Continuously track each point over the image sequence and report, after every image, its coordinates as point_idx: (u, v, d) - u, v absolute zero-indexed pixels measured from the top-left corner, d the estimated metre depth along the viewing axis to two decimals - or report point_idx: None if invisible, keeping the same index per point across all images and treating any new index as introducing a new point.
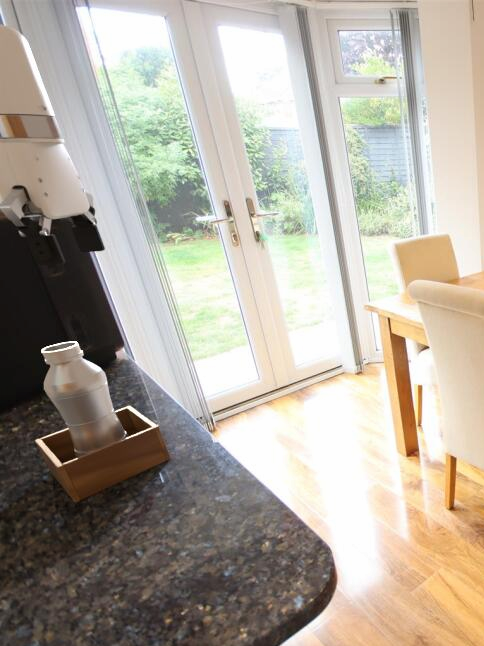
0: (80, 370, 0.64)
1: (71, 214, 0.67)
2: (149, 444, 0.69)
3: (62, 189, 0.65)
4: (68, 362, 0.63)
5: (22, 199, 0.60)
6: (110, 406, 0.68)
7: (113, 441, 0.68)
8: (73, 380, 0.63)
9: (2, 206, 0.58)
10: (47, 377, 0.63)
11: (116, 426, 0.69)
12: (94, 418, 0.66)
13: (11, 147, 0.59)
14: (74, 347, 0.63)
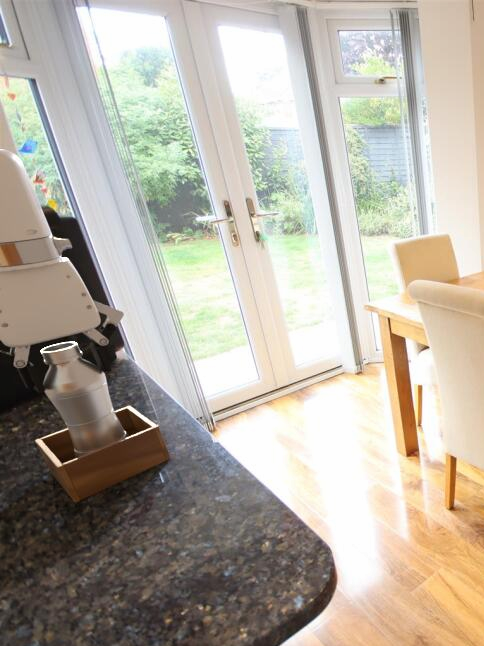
0: (79, 370, 0.64)
1: (56, 337, 0.61)
2: (149, 444, 0.69)
3: (38, 314, 0.59)
4: (67, 362, 0.63)
5: None
6: (110, 406, 0.68)
7: (113, 441, 0.68)
8: (72, 380, 0.63)
9: None
10: (46, 377, 0.63)
11: (116, 426, 0.69)
12: (93, 418, 0.66)
13: None
14: (73, 347, 0.63)
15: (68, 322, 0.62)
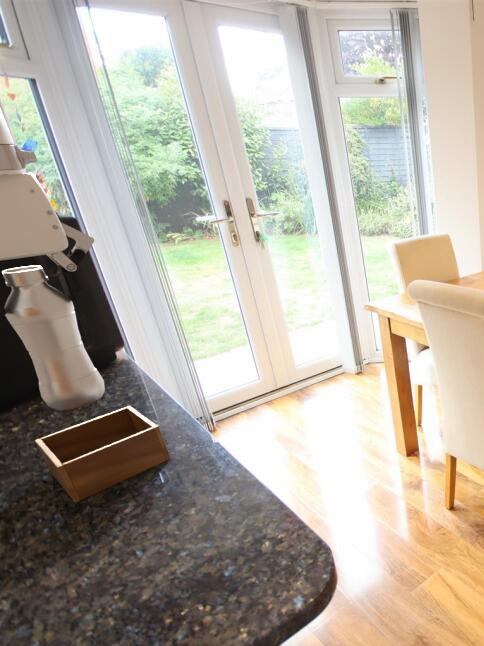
0: (44, 295, 0.60)
1: (18, 256, 0.57)
2: (149, 444, 0.69)
3: None
4: (31, 285, 0.59)
5: None
6: (78, 338, 0.64)
7: (81, 375, 0.64)
8: (36, 305, 0.59)
9: None
10: (8, 301, 0.59)
11: (84, 360, 0.65)
12: (59, 348, 0.62)
13: None
14: (38, 270, 0.59)
15: (32, 241, 0.58)
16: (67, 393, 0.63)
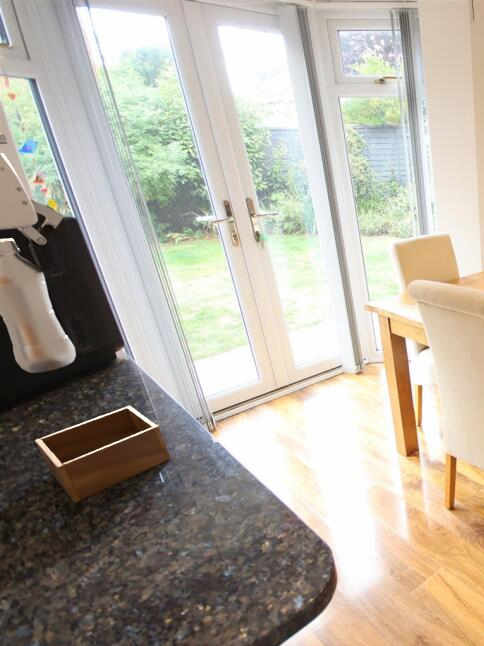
0: (15, 265, 0.65)
1: None
2: (149, 444, 0.69)
3: None
4: (3, 255, 0.65)
5: None
6: (48, 306, 0.70)
7: (52, 340, 0.70)
8: (8, 273, 0.65)
9: None
10: None
11: (55, 327, 0.71)
12: (30, 314, 0.68)
13: None
14: (9, 242, 0.65)
15: (3, 215, 0.64)
16: (39, 356, 0.69)
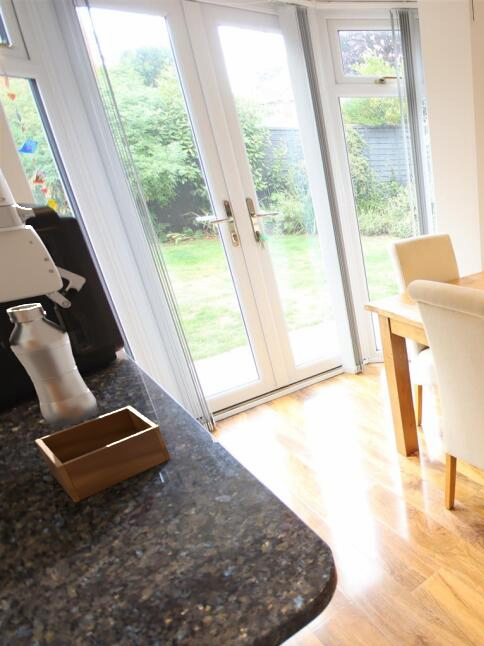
0: (42, 329, 0.70)
1: (20, 297, 0.68)
2: (149, 444, 0.69)
3: (3, 275, 0.66)
4: (31, 321, 0.69)
5: None
6: (72, 364, 0.74)
7: (75, 396, 0.74)
8: (36, 337, 0.69)
9: None
10: (12, 334, 0.69)
11: (79, 382, 0.75)
12: (56, 373, 0.72)
13: None
14: (37, 307, 0.70)
15: (31, 284, 0.68)
16: (64, 411, 0.74)
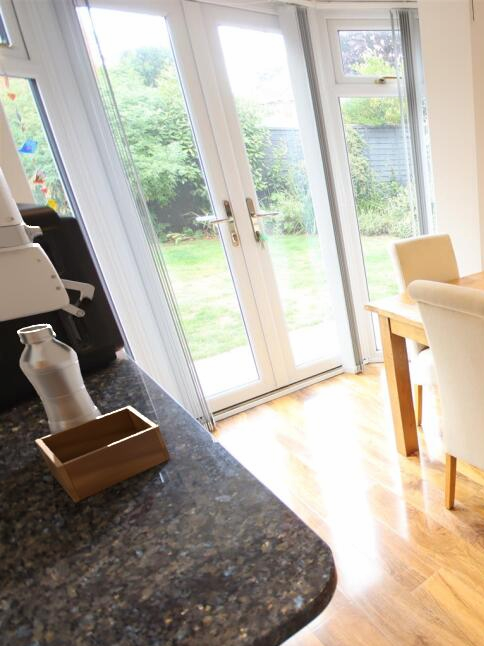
0: (52, 349, 0.71)
1: (28, 314, 0.69)
2: (149, 444, 0.69)
3: (11, 293, 0.67)
4: (41, 342, 0.71)
5: None
6: (81, 383, 0.75)
7: (83, 414, 0.76)
8: (45, 358, 0.71)
9: None
10: (22, 355, 0.70)
11: (86, 401, 0.76)
12: (65, 393, 0.73)
13: None
14: (47, 329, 0.71)
15: (39, 301, 0.69)
16: None
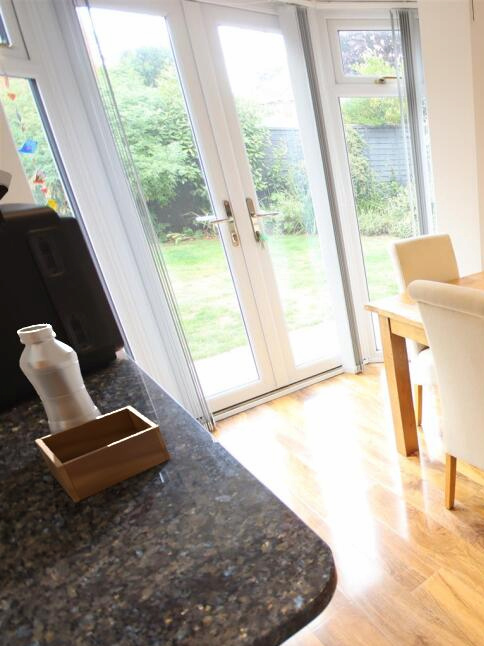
0: (52, 349, 0.71)
1: None
2: (149, 444, 0.69)
3: None
4: (41, 342, 0.71)
5: None
6: (81, 383, 0.75)
7: (83, 414, 0.76)
8: (45, 358, 0.71)
9: None
10: (22, 355, 0.70)
11: (86, 401, 0.76)
12: (65, 393, 0.73)
13: None
14: (47, 329, 0.71)
15: None
16: None
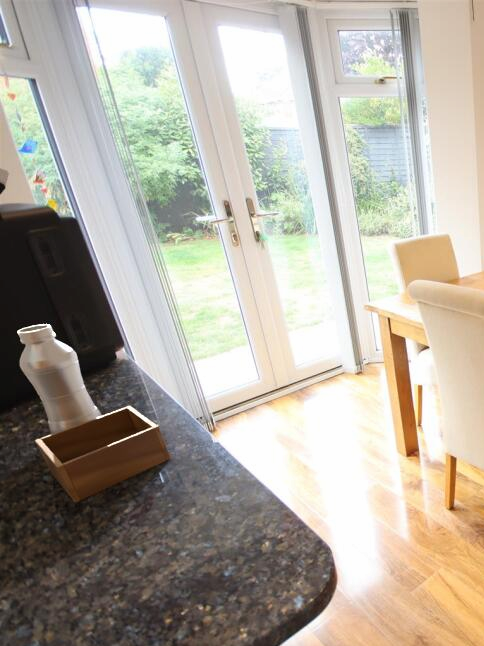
0: (52, 349, 0.71)
1: None
2: (149, 444, 0.69)
3: None
4: (41, 342, 0.71)
5: None
6: (81, 383, 0.75)
7: (83, 414, 0.76)
8: (45, 358, 0.71)
9: None
10: (22, 355, 0.70)
11: (86, 401, 0.76)
12: (65, 393, 0.73)
13: None
14: (47, 329, 0.71)
15: None
16: None
